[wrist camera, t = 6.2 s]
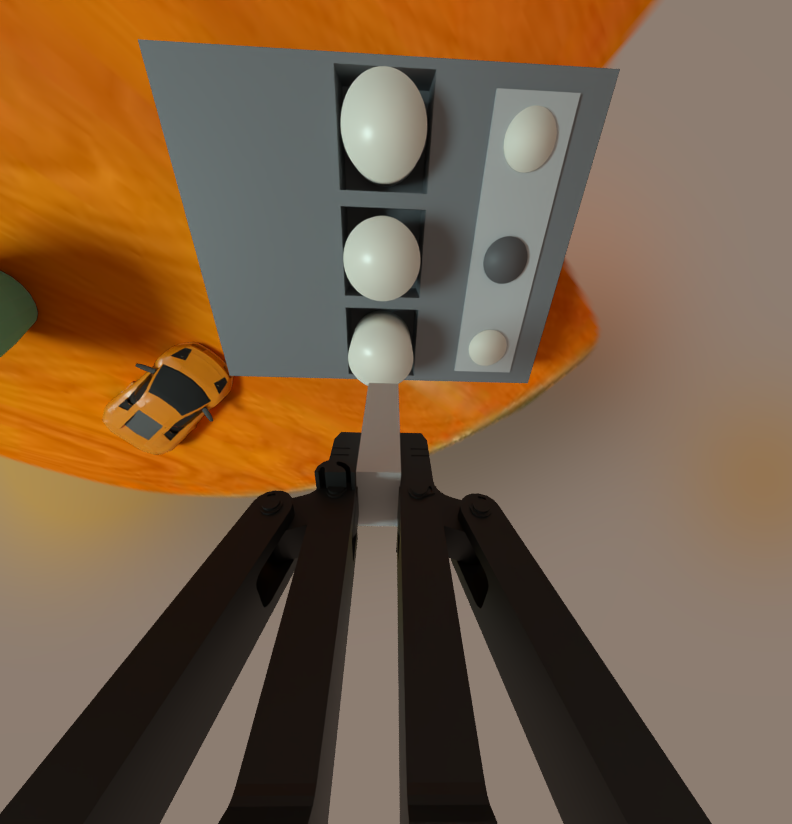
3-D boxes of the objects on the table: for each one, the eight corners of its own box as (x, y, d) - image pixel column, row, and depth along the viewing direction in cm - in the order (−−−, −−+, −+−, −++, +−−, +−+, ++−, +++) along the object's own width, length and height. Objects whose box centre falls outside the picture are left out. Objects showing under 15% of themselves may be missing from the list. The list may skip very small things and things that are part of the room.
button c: (350, 184, 20) (342, 179, 17) (347, 90, 18) (338, 63, 15) (417, 188, 21) (423, 183, 17) (423, 95, 18) (431, 69, 15)
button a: (354, 364, 26) (349, 387, 22) (352, 309, 23) (346, 326, 20) (408, 365, 26) (411, 388, 22) (411, 311, 23) (415, 328, 20)
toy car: (252, 384, 30) (238, 401, 28) (170, 447, 34) (152, 468, 31) (189, 327, 27) (167, 340, 24) (107, 404, 31) (81, 422, 28)
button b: (351, 286, 22) (345, 300, 19) (349, 214, 20) (341, 214, 17) (413, 288, 23) (417, 302, 19) (417, 216, 20) (423, 217, 17)
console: (248, 356, 28) (227, 378, 25) (183, 70, 19) (132, 35, 15) (511, 363, 29) (529, 385, 25) (579, 94, 19) (624, 66, 16)
